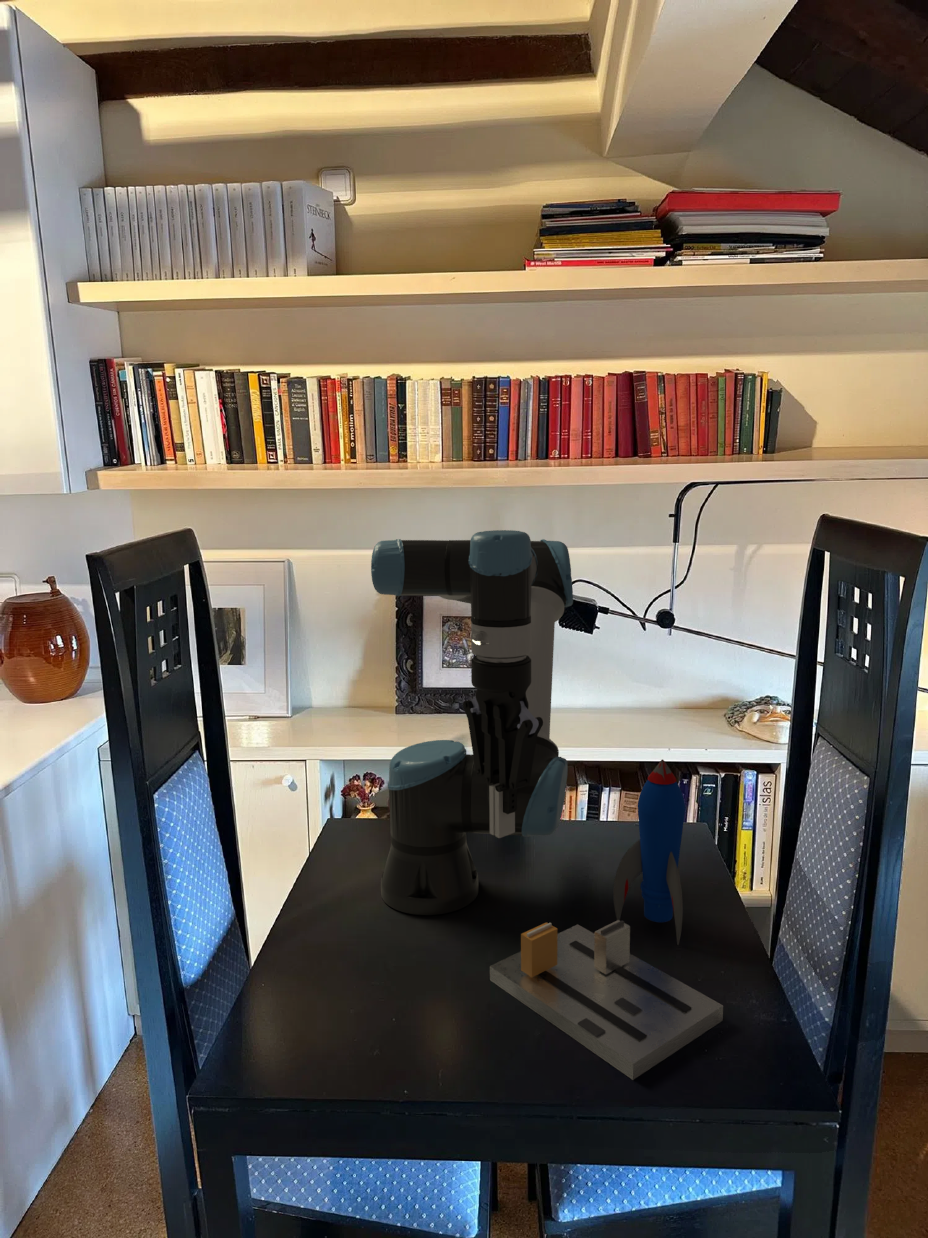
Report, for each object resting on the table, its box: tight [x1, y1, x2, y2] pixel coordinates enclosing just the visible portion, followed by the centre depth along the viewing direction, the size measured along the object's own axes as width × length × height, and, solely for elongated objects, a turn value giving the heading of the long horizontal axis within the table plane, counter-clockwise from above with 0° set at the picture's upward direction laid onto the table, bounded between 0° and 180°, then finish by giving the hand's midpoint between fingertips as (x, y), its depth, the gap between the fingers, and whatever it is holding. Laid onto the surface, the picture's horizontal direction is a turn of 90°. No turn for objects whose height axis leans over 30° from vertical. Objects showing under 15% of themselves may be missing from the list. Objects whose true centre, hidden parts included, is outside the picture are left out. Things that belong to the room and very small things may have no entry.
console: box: [489, 919, 724, 1081], centre depth 109 cm, size 24×16×8 cm, turn 38°
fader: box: [520, 922, 558, 977], centre depth 112 cm, size 2×4×5 cm, turn 129°
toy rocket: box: [612, 759, 686, 946], centre depth 125 cm, size 11×10×25 cm
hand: (502, 832), depth 115 cm, fingers closed
